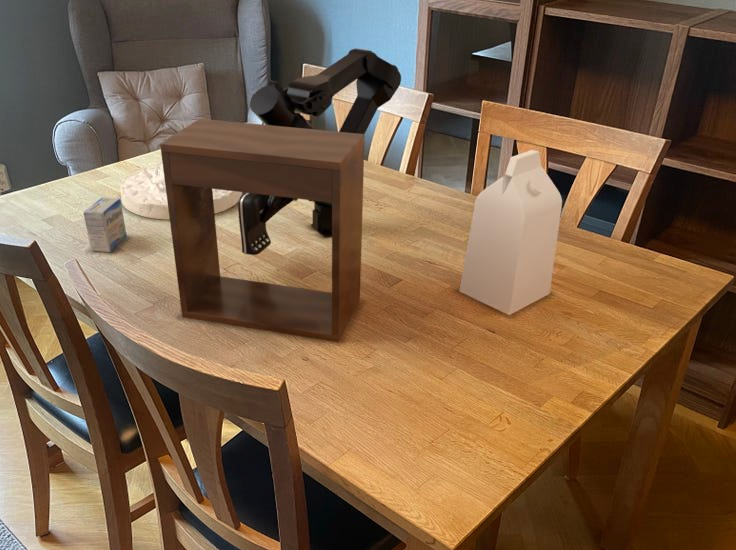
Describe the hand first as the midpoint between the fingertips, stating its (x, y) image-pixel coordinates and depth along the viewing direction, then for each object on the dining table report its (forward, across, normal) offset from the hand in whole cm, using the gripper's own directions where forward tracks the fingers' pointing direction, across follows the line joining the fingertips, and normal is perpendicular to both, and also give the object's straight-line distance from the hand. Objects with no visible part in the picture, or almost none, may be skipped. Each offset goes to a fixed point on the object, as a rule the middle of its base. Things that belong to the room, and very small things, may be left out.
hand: (252, 219), depth 136 cm
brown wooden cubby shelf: (+14, +11, +1) cm, 18 cm away
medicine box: (+12, -34, +3) cm, 36 cm away
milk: (-5, +43, +22) cm, 49 cm away
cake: (-7, -39, +23) cm, 46 cm away
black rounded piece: (+4, 0, +6) cm, 7 cm away
